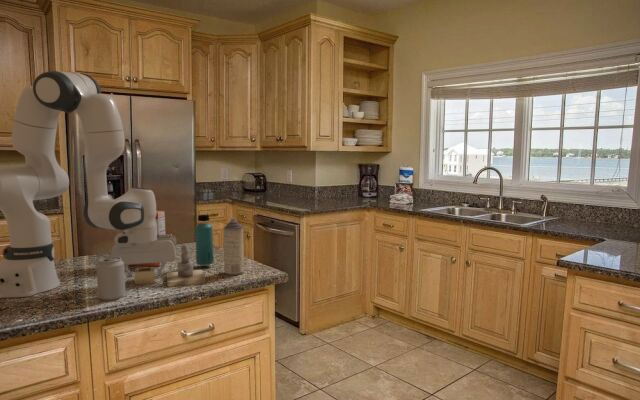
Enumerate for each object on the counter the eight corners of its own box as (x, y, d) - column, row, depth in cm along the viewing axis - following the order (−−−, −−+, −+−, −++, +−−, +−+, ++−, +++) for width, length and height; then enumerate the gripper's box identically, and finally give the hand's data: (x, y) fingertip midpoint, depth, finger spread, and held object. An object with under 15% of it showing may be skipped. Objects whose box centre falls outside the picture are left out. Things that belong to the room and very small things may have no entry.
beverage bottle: (209, 269, 163) (208, 216, 161) (192, 268, 164) (191, 215, 162) (216, 265, 169) (215, 213, 167) (201, 264, 171) (199, 213, 168)
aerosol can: (247, 272, 159) (246, 218, 157) (232, 276, 154) (231, 220, 152) (235, 269, 164) (235, 216, 161) (220, 273, 158) (219, 218, 156)
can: (106, 293, 136) (104, 255, 135) (130, 293, 136) (128, 255, 134) (93, 301, 129) (90, 261, 127) (118, 301, 128) (116, 261, 127)
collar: (135, 284, 144) (134, 272, 144) (135, 279, 150) (135, 268, 150) (154, 282, 147) (154, 271, 146) (154, 277, 152) (154, 266, 152)
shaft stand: (167, 286, 142) (166, 250, 141) (166, 276, 154) (165, 243, 152) (205, 283, 147) (204, 247, 145) (202, 273, 158) (201, 240, 156)
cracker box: (124, 265, 168) (122, 211, 165) (133, 261, 173) (131, 209, 171) (159, 267, 166) (157, 212, 163) (167, 263, 172) (165, 210, 169)
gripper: (176, 232, 152) (177, 271, 154) (111, 235, 146) (113, 275, 148) (176, 235, 146) (177, 275, 148) (108, 239, 140) (110, 281, 142)
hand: (145, 276), depth 148 cm, fingers open, 8 cm apart
